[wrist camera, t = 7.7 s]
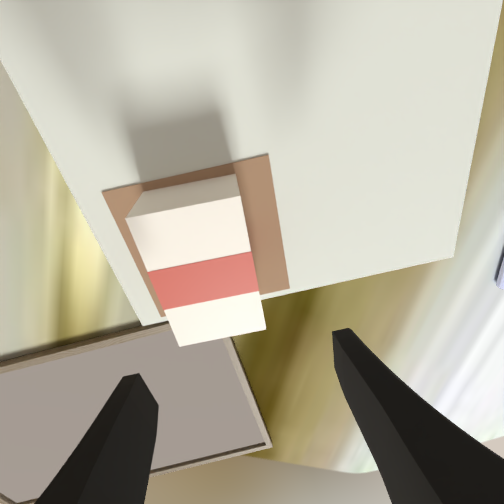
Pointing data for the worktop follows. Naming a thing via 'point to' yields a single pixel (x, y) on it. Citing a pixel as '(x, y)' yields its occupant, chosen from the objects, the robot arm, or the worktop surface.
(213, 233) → the card box
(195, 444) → the picture frame
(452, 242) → the mat
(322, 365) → the worktop surface
